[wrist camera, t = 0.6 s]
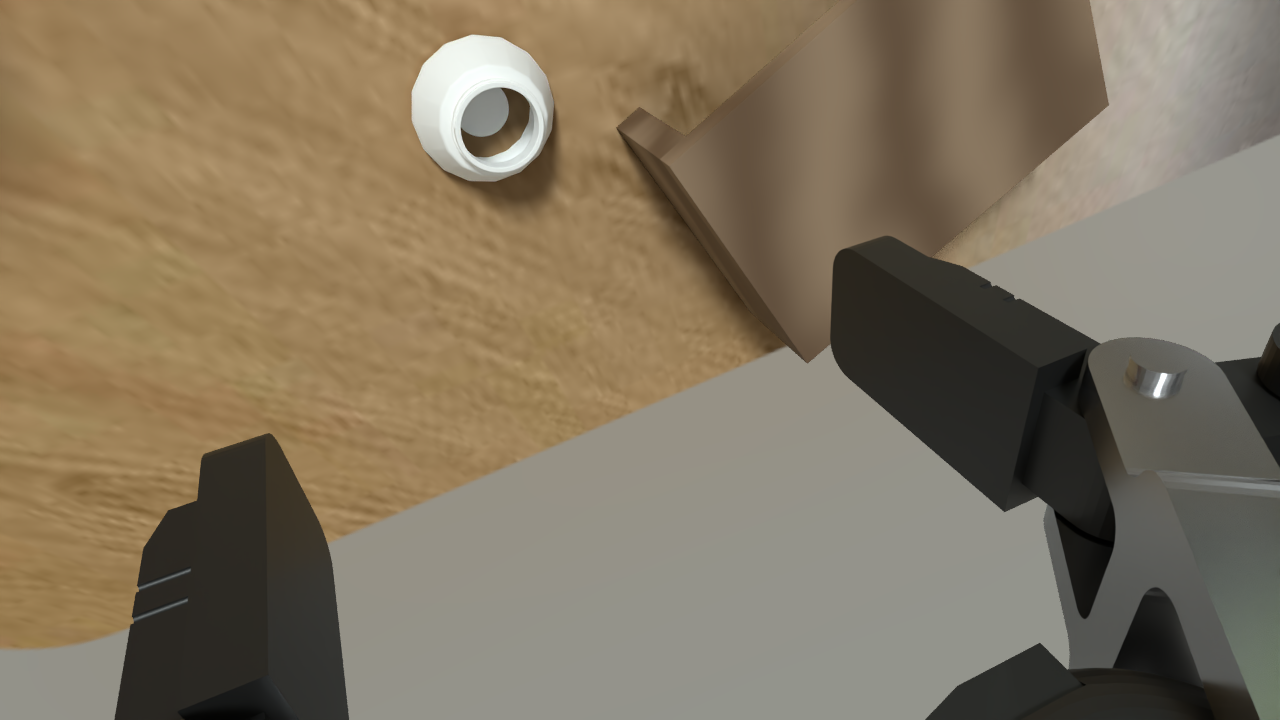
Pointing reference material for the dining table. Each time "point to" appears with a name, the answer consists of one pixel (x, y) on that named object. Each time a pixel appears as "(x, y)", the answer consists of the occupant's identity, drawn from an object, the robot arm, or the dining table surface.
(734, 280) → the low shelf
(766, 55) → the dining table surface
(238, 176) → the dining table surface
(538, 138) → the white jar
